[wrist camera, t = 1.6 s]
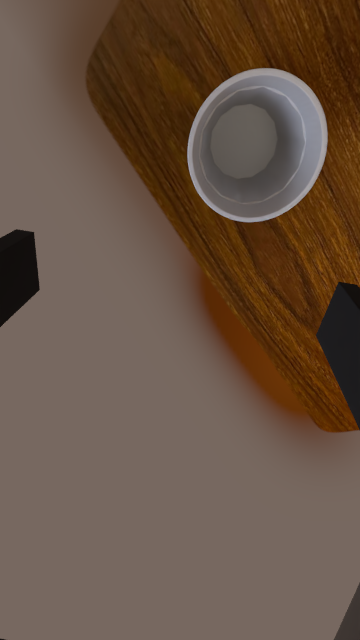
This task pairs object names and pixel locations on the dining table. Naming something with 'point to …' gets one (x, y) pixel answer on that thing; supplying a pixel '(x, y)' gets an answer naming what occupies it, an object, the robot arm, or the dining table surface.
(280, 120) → the cup
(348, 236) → the dining table surface
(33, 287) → the robot arm
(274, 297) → the dining table surface
